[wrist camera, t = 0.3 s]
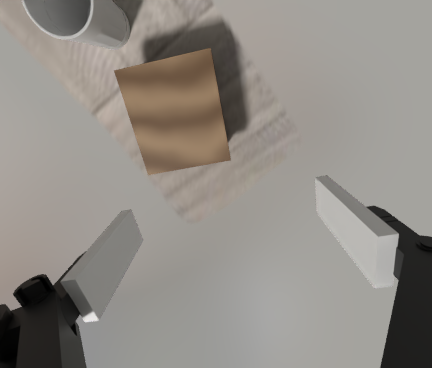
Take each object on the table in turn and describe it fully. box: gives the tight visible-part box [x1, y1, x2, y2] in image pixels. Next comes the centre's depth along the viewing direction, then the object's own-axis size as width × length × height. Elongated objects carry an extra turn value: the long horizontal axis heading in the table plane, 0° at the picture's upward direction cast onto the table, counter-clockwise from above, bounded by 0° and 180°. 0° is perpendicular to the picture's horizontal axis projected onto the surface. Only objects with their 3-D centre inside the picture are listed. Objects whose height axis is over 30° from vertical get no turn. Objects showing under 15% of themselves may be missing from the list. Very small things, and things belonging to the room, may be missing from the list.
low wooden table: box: [114, 48, 231, 175], centre depth 37 cm, size 16×14×6 cm
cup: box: [21, 0, 130, 50], centre depth 29 cm, size 8×8×12 cm
